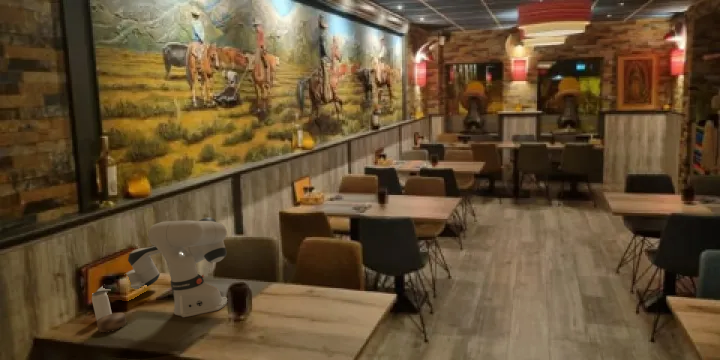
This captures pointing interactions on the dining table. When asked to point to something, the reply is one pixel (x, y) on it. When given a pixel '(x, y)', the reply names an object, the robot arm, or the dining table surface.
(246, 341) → the dining table surface
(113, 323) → the brown rounded flat block
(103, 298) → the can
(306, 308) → the dining table surface
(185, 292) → the robot arm
